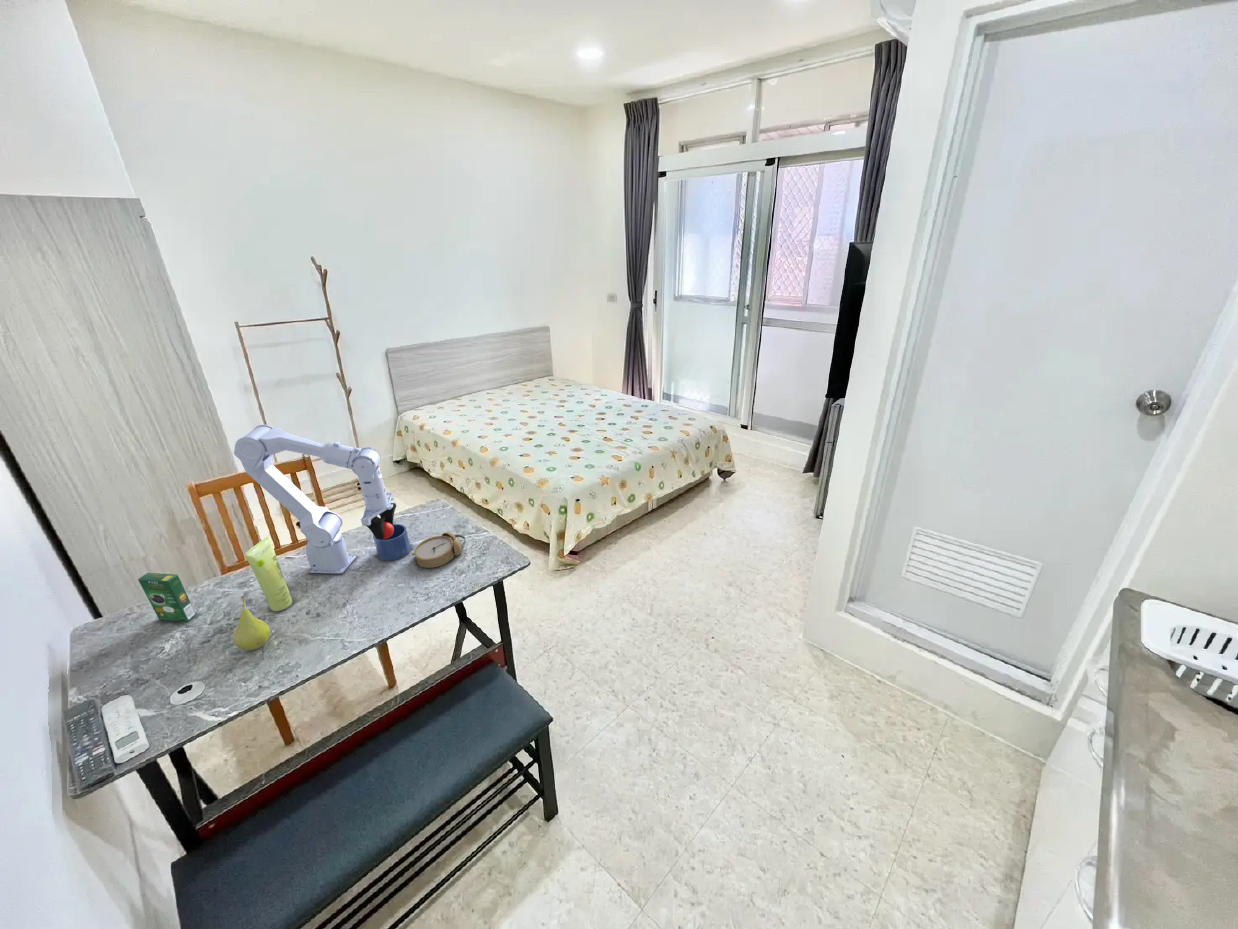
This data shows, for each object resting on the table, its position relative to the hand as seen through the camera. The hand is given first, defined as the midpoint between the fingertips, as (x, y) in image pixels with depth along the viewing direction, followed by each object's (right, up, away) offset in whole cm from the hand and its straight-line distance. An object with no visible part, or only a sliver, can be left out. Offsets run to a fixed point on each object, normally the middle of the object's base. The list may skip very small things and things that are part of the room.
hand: (384, 533), depth 139 cm
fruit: (-18, -23, -25) cm, 38 cm away
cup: (-1, -7, +8) cm, 10 cm away
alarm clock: (+14, -7, +6) cm, 17 cm away
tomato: (0, -1, +1) cm, 2 cm away
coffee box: (-44, -19, -17) cm, 51 cm away
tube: (-21, -17, -13) cm, 30 cm away
